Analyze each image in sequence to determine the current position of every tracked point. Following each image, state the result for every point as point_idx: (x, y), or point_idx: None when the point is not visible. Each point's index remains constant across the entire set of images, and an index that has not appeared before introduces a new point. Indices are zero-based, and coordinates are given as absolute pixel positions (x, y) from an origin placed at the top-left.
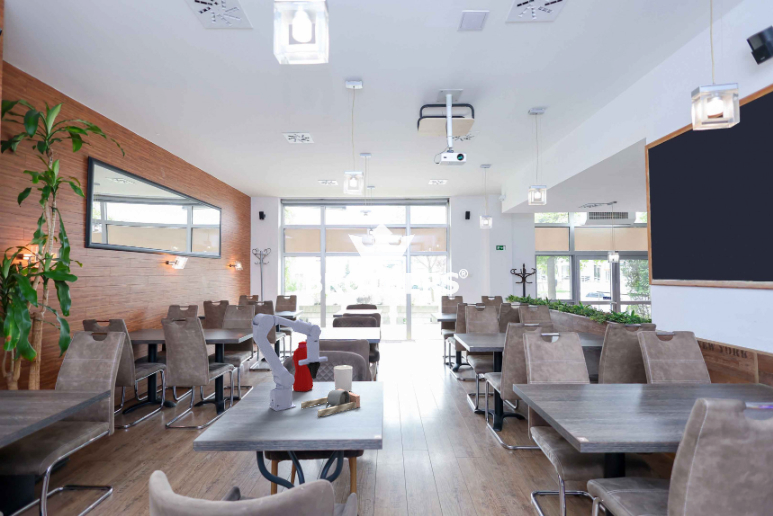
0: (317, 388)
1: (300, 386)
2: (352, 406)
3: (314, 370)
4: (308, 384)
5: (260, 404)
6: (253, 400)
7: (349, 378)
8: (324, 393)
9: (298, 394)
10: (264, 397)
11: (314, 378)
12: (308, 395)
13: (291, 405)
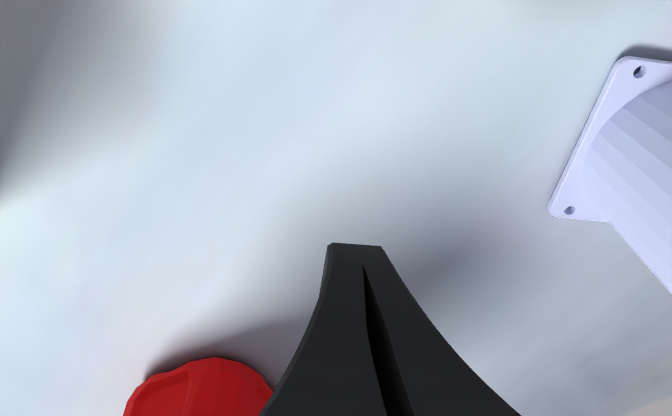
0: (100, 364)
1: (257, 410)
2: None
3: (411, 364)
4: (192, 399)
5: (658, 319)
6: (596, 402)
7: None
8: (115, 226)
9: None
10: None
11: (363, 246)
12: (270, 271)
13: (648, 93)
